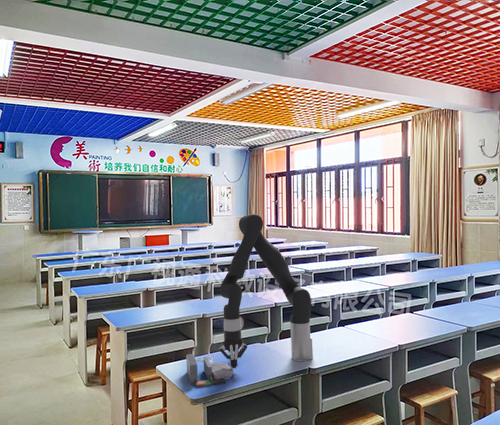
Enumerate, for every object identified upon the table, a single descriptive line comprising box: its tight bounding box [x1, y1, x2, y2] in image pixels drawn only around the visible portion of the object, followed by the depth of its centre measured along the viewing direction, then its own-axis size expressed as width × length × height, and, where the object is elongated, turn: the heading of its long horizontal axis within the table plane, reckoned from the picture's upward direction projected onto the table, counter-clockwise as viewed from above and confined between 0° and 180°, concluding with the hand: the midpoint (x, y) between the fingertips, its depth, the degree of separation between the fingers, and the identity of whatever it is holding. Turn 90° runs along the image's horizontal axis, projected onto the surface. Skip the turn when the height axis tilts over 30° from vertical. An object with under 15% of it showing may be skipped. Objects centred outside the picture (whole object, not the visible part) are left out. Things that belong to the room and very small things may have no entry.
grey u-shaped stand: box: [185, 353, 226, 388], centre depth 176 cm, size 14×18×8 cm
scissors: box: [195, 354, 216, 364], centre depth 195 cm, size 11×1×20 cm
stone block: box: [210, 361, 234, 380], centre depth 179 cm, size 12×5×10 cm
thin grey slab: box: [202, 356, 213, 381], centre depth 176 cm, size 2×18×6 cm, turn 15°
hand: (233, 367), depth 181 cm, fingers closed
